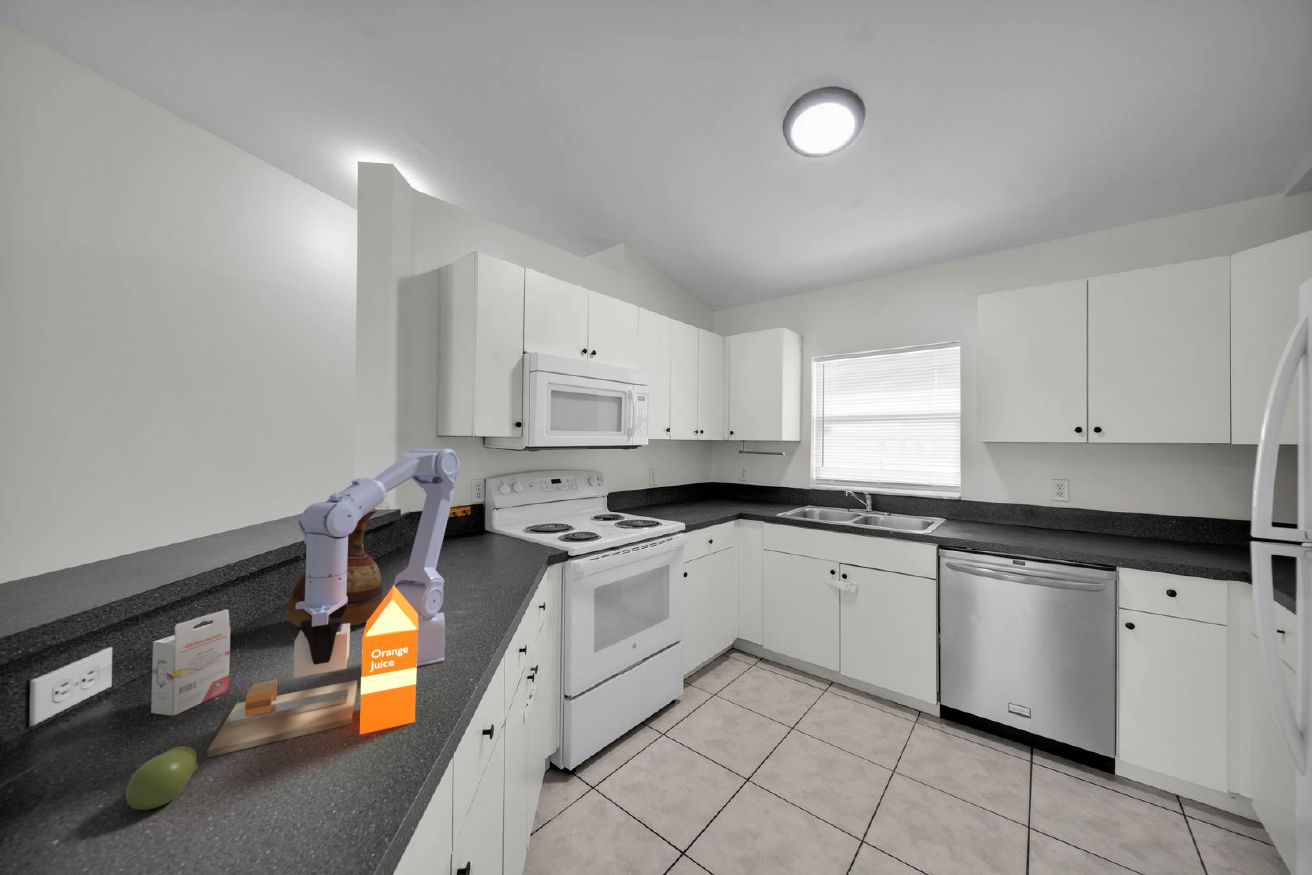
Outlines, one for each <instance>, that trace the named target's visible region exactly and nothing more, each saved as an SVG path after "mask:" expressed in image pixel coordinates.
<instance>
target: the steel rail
mask: <svg viewBox="0 0 1312 875" xmlns="http://www.w3.org/2000/svg"><path fill="white" fill-rule="evenodd" d="M348 695H349V689H346V690H341V691H336V692H331V693H326V694H321V695H316V696H311V697H306V698H301V699H296V700H291V701H287V702H282V703H277V704H272V705H271V711H270V712H267V713H262V714H257V715H252V716H247V717H245V710H242V711H237V712H235V713H234V714H233V716H232V718H231V719H230V721H229V728H232V727H237V726H241V725H246V724H251V723H255V722H260V721H265V720H269V719H274V718H279V717H284V716H288V715H293V714H298V713H302V712H307V711H312V710H316V709H321V708H326V707H330V706H335V705H340V704H345V703H347V701H348Z"/></svg>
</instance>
